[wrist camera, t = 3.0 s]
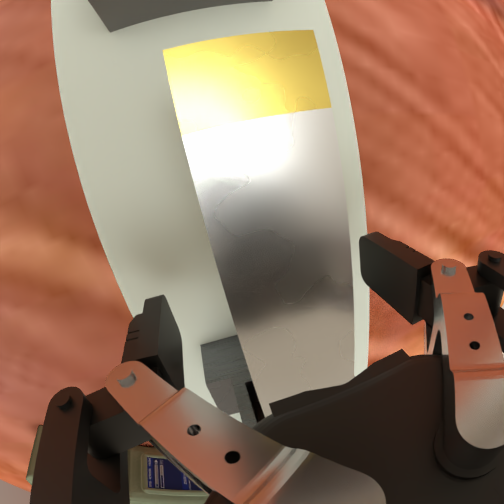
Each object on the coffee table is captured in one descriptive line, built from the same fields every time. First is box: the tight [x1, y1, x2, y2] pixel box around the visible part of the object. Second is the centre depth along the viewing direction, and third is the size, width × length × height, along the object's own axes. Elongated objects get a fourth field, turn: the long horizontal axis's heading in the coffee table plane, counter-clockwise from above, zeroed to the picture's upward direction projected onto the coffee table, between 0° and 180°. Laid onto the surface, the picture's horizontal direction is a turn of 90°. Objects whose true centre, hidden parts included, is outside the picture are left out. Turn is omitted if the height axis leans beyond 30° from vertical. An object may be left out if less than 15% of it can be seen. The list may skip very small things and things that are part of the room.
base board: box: [51, 0, 369, 423], centre depth 16 cm, size 14×36×2 cm, turn 13°
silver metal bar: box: [162, 30, 355, 417], centre depth 11 cm, size 3×24×3 cm, turn 12°
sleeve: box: [200, 335, 355, 428], centre depth 16 cm, size 8×12×9 cm, turn 13°
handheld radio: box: [26, 425, 209, 504], centre depth 20 cm, size 7×3×25 cm
